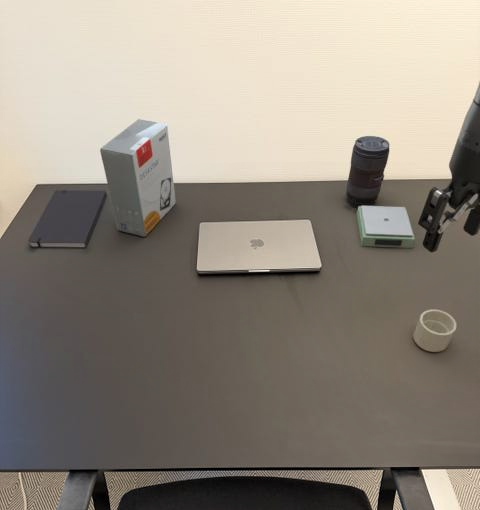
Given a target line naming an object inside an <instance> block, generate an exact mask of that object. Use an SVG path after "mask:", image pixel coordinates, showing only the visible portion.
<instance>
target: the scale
mask: <svg viewBox="0 0 480 510" xmlns="http://www.w3.org/2000/svg"><path fill="white" fill-rule="evenodd" d="M356 219H357V227H358V233H359V238H360V245H361V247H375V248H376V247H378V248H380V247H381V248H401V249H402V248H404V249H413V247H414V244H415V241H416V238H415V235H414V230H413V228H412V224H411V221H410V217H409V213H408V210H407V208H406V207H405V206H387V205H386V206H385V205H384V206H383V205H382V206H381V205H373V206H358V208H357V211H356Z"/></svg>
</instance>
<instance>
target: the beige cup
mask: <svg viewBox="0 0 480 510" xmlns="http://www.w3.org/2000/svg"><path fill="white" fill-rule="evenodd" d="M457 326H458V324H457V322H456V320H455V318H454V317H453V316H452V315H451V314H449V313H448V312H446V311H444V310H440V309H427V310H425V311H424V312H422V313H421V314H420V316H419V319H418V321H417V324H416V326H415V329H414V331H413V334H412V337H413V340H414V342H415V343H416V345H417V346H418V347H419V348H421V349H422V350H423V351H427V352H429V353H430V352H431V353H439V352H443V351H444V350H446V349H447V348H448V347H449V344H450V342H451V340H452V338H453V336H454V334H455V332H456V330H457Z"/></svg>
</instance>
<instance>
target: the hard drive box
mask: <svg viewBox="0 0 480 510" xmlns="http://www.w3.org/2000/svg"><path fill="white" fill-rule="evenodd" d="M99 151H100V156H101V161H102V165H103V169H104V170H103V171H104V174H105V178H106V183H107V188H108V192H109V197H110V201H111V206H112V210H113V216H114V219H115V224H116V230H117V231H119V232H124V233H127V234H131V235H135V236H140V237H143V238H145V237H147V236H148V235H149V233H150V232H152V231H153V230H154V229H155V227H156V226H157V225H158V224H159V222H160V221H162V219H163V218H164V217H165V216H166V215H167V214H168V213H169V212H170V211H171V209H172V208H173V207H174V206H175V205H176V204H177V201H176V200H177V199H176V193H175V192H176V191H175V184H174V183H175V181H174V174H173V165H172V156H171V147H170V139H169V129H168V123H163V122H157V121H152V120H145V119H140V118H138V119H137V120H136V121H134V122H133V123H131V124H130V125H128V126H127V127H126V128H125V129H124V130H122V131H121V132H120V133H118V134H117V135H116V136H115V137H113V138H112V139H111V140H110V141H108V142H107V143H105V144H104V145H102V147H100V149H99Z"/></svg>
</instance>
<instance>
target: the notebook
mask: <svg viewBox="0 0 480 510" xmlns="http://www.w3.org/2000/svg"><path fill="white" fill-rule="evenodd" d="M107 197H108V193H107V191H106V190H96V189H95V190H91V189H90V190H88V189H87V190H84V189H83V190H82V189H81V190H79V189H78V190H77V189H74V190H73V189H68V190H67V189H64V190H63V189H58V190H55V191H54V192H53V194H52V196H51V197H50V199H49V201H48V203H47V204H46V207H45V209H44V210H43V212H42V214H41V216H40V218H39V219H38V221H37V223H36V224H35V227H34V229H33V231H32V232H31V234H30V235H29V238H28V240H27V241H28V243H29V244H30V247H31V248H35V249H37V248H39V249H40V248H43V249H44V248H46V249H48V248H49V249H50V248H51V249H86V248H87V247H88V245H89V242H90V239H91V237H92V234H93V232H94V229H95V227H96V224H97V222H98V219H99V217H100V214H101V212H102V210H103V207H104V204H105V201H106V199H107Z"/></svg>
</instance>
